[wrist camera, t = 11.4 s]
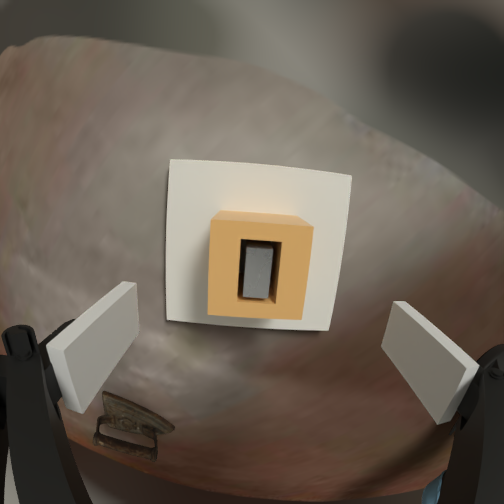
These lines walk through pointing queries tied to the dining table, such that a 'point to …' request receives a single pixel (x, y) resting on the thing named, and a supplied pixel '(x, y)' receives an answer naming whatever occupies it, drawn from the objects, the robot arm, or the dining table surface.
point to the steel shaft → (257, 268)
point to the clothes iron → (130, 426)
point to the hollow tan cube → (282, 270)
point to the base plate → (246, 200)
